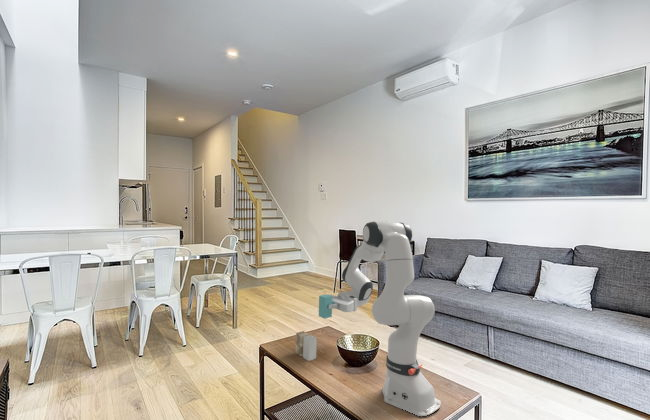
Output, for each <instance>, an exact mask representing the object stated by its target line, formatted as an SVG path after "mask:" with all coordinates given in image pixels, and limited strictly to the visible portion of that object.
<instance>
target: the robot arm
mask: <svg viewBox="0 0 650 420" xmlns="http://www.w3.org/2000/svg"><path fill="white" fill-rule="evenodd" d="M362 228H363V229H362V238H363V240H362V243H361V244H359V245H357V246H356V247H355V249H354V250H353V253H352V254H351V256H350V258H349V260H348V262H347V264H346V266H345V268H344V269H343V270H342V273H341V279H342V281H344V283H346V284H347V285H348V286H349V287H350V289H351V290H348V291H347V290H346V291H343V292H339V293H338V294H337V296H336V295H333V294H329V295H330V296H332V304H329V305H327V308H328V309H332V310H338V311H341V312H343V313H351V312H357V311H358V310H357V309H358V307H362V306H364V305H366V304H368V303H369V301H370V299H371V295H372V293H373V289H374V284H373V282H372V281H371V280H370V279H369V278H368V277H367V276H366V275H365V274H364V273H363V272H362V271H361V269H360V268H359V265H360V263H361V261H365V262H369V263H370V262H371V263H375V262H377V261H380V260H381V259H382V257H383V256H384V260H385V262H384V263H385V284H384V288H383V290H382V292H381V293H380V294H379V296H377V298H376V299H375V300H374V301H373V303H372V305H371V313H372V317H373V319H374V320H375V322H376V323H377V324H379V325H383V326H398V327H397V329H395V330H394V331H393V332H392V333H391V334H389V336H388V339H387V355H386V361H385V364H386V365H385V366H386V373H385V380H384V382H383V383H384V384H383V386H382V390H381V392H382V395H383V401H384V403H386V404H388V405H391V406H393V407H394V408H395V407H396V408H398V409H400V410H402V409H403V411H405V410H406V411H405V412H407V411H408V413H409V412H410V414H412V413H413V414H412V415H414V414H415V416H416V415H417V416H416V417H419V416H426V415H429V414H431V413H433V412H434V411H436V410H437V409H438V408H439V407H440V405H441V406H442V401H441V400H440V399H438V398H437V397H436V395H435V389H434V387H433V385H432V384H431V383H430V382H429V381H428V379H427V378H426V377H425V376H424V375H423V373H422V372H421V368H423V367H422V366H423V364H420V365H419V362H418V359H417V350H418V342H419V339H420V336H421V334H422V331H423V329H424V327H425V326H426V325H427V324H428V323H429V322H430V321H432V320H433V319H434V317H435V311H436V310H435V305H434V302H433V301H432V299H431V298H430V297H428V296H425V295H420V294H406V295H405V290H406V288H407V286H410V285H411V284H412V283H413V282H414V280H415V268H414V257H413V252H412V251H413V250H412V247H411V241H412V238H413V231H412V229H411V226H410V225H409V224H408V223H404V222H394V221H386V220H385V221H369V222H367V223H366V224H364V227H362ZM437 404H439V405H437ZM440 408H441V407H440Z"/></svg>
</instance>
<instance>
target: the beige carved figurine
mask: <svg viewBox="0 0 650 420" xmlns="http://www.w3.org/2000/svg"><path fill="white" fill-rule="evenodd" d="M309 335H310V333H309V332H306V331H299V332H296V333H295V355H298V356H300V357H303V340H304V337H305V336H309Z"/></svg>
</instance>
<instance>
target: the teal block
mask: <svg viewBox="0 0 650 420" xmlns="http://www.w3.org/2000/svg"><path fill="white" fill-rule="evenodd" d="M330 295H331V294H321V295H319V296H318V317H320V318H322V319H328V318H332V315H333V309H328V308H327V305H329V304H332V296H330Z"/></svg>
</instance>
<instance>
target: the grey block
mask: <svg viewBox="0 0 650 420" xmlns="http://www.w3.org/2000/svg"><path fill="white" fill-rule="evenodd" d="M317 338H318V337H316V336H314V335H312V334H309V336H305V337H304V340H303V356H302V358H303V359H304V360H306V361H307V362H309V361H313V360H315V359H317V346H318V344H317V341H318V340H317Z"/></svg>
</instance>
